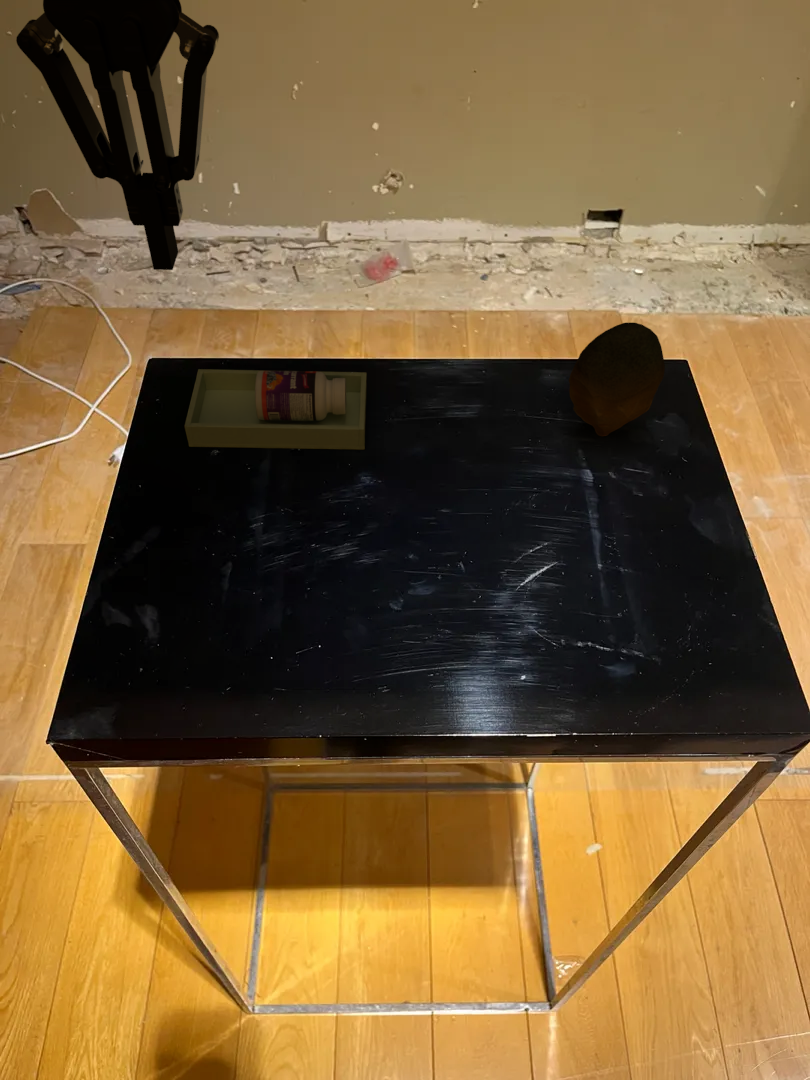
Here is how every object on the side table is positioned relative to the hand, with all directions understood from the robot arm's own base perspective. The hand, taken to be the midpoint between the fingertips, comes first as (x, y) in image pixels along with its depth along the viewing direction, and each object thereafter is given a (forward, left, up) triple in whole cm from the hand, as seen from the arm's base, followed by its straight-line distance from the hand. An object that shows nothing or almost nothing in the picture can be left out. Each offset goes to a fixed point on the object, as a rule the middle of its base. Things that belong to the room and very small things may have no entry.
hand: (166, 260), depth 66 cm
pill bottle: (+4, +11, -23) cm, 26 cm away
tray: (+6, +11, -26) cm, 29 cm away
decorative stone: (+42, +9, -27) cm, 50 cm away
